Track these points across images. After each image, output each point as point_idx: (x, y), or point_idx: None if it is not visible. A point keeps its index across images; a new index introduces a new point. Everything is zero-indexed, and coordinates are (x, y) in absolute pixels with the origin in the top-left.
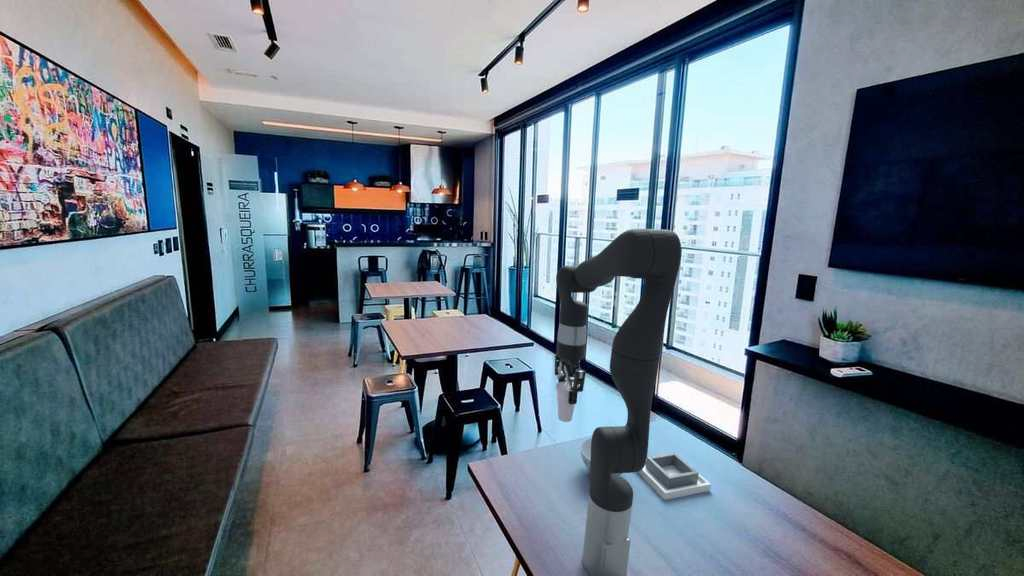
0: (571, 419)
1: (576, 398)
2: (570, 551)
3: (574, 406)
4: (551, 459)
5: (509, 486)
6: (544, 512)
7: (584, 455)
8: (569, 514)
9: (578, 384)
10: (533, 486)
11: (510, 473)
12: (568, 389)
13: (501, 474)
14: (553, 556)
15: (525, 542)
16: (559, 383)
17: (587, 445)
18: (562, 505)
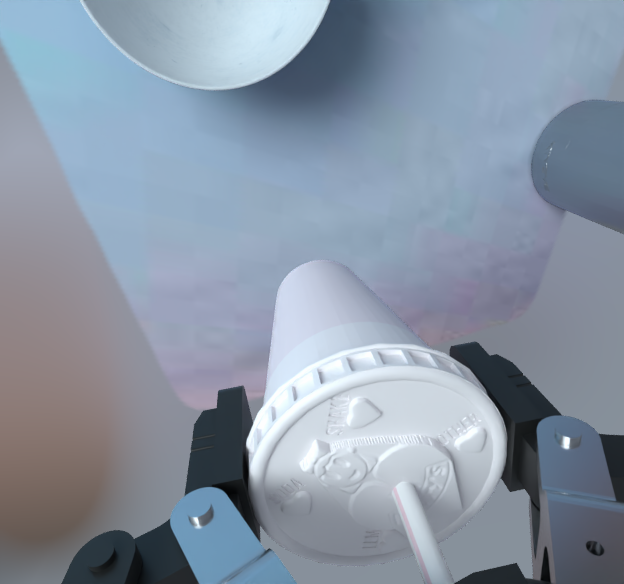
0: (349, 269)
1: (528, 385)
2: (518, 224)
3: (377, 299)
4: (114, 176)
5: (266, 337)
6: (383, 260)
7: (240, 86)
8: (404, 190)
9: (609, 483)
10: (271, 271)
11: (204, 330)
12: (460, 482)
13: (208, 355)
14: (518, 267)
15: (464, 321)
16: (300, 537)
17: (104, 11)
18: (365, 201)
